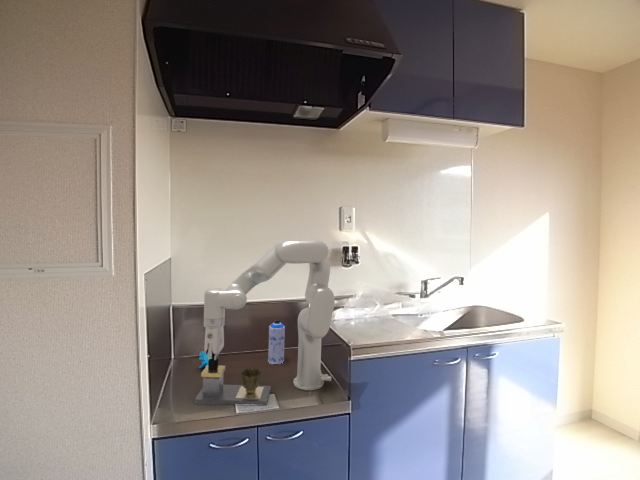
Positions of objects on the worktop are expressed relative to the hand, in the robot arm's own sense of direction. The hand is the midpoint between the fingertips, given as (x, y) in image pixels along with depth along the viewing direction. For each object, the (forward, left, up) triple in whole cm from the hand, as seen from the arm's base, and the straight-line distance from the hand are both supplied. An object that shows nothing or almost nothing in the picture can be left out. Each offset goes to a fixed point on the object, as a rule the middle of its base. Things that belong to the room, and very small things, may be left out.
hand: (213, 369), depth 132 cm
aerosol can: (-20, -34, -11) cm, 41 cm away
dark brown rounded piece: (-14, 0, -9) cm, 17 cm away
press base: (-8, 0, -10) cm, 13 cm away
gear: (+9, -24, -11) cm, 28 cm away
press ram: (0, 0, -8) cm, 8 cm away
